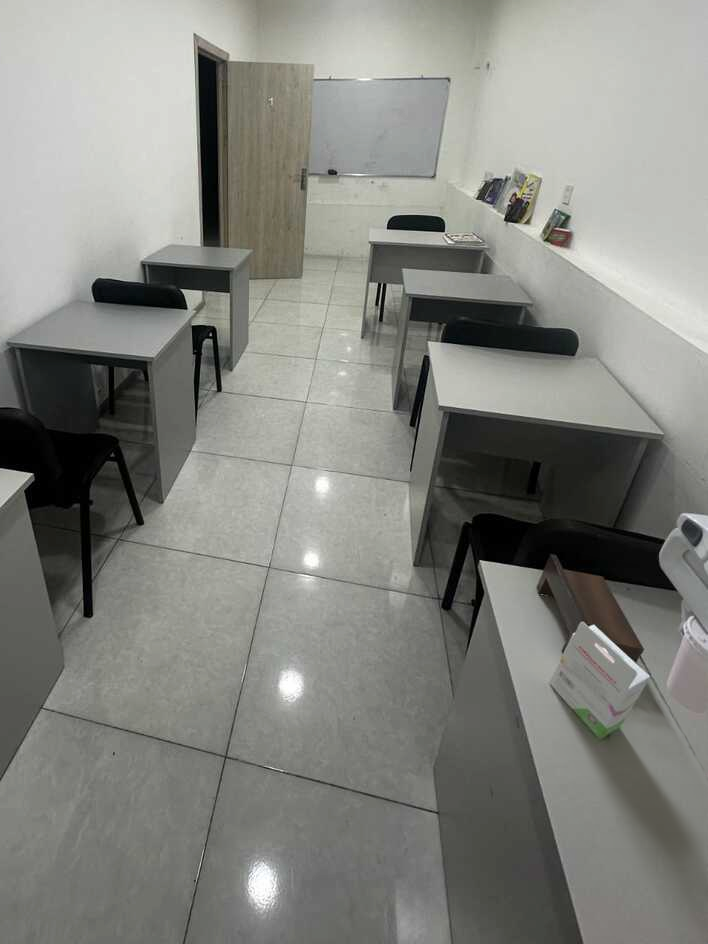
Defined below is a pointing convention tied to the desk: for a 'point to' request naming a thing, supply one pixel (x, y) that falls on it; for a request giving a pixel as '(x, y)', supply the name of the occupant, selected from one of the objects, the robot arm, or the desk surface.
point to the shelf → (588, 605)
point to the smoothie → (691, 668)
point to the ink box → (598, 680)
